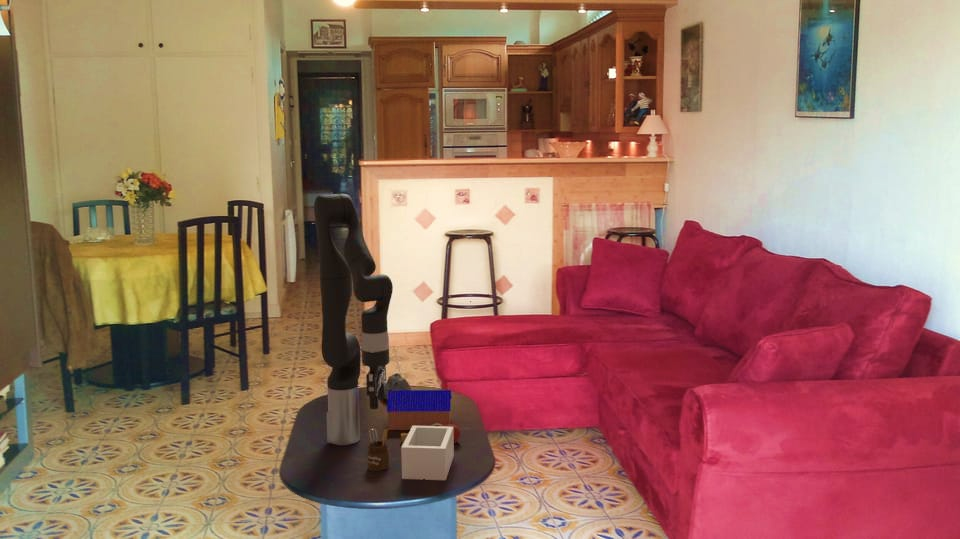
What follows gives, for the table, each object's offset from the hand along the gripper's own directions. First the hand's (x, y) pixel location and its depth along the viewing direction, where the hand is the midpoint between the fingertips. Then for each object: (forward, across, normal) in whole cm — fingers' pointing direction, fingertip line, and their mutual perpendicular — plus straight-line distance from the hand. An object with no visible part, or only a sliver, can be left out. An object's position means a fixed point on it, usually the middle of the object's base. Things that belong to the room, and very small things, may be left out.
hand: (377, 403), depth 232 cm
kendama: (+19, -20, +11) cm, 30 cm away
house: (+19, -36, +6) cm, 41 cm away
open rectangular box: (+19, -1, +14) cm, 23 cm away
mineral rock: (+19, -60, -7) cm, 63 cm away
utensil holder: (+19, 0, 0) cm, 19 cm away
